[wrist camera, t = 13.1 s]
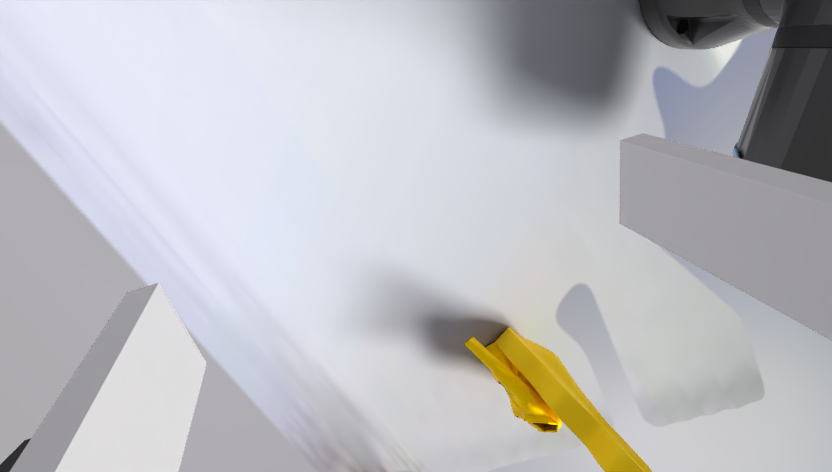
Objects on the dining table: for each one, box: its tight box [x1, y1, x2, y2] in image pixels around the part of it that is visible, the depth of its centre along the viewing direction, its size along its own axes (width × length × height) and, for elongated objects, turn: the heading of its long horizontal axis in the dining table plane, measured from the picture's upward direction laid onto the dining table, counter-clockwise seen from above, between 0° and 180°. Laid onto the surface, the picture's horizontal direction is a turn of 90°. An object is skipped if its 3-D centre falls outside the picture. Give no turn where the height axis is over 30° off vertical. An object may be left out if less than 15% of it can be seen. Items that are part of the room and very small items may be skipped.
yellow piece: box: [464, 327, 652, 472], centre depth 45 cm, size 18×8×22 cm, turn 44°
